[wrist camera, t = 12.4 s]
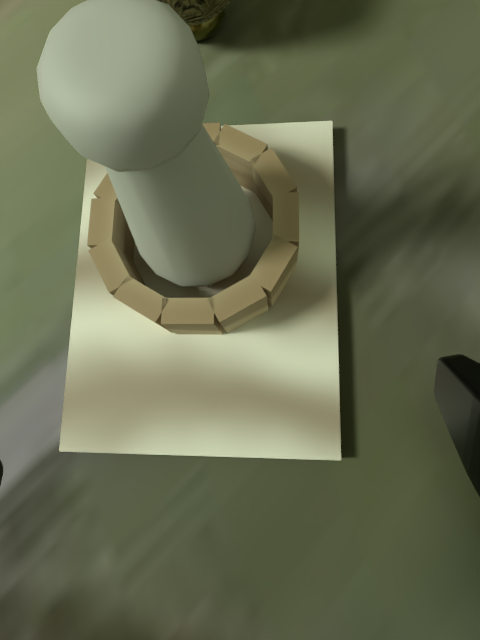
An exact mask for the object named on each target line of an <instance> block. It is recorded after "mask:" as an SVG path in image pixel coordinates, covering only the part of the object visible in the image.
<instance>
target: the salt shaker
mask: <svg viewBox="0 0 480 640" xmlns="http://www.w3.org/2000/svg"><path fill="white" fill-rule="evenodd" d="M37 76H38V85H39V93H40V100H41V102H42V104H43V106H44V108H45V110H46V112H47V114H48V115H49V117H50V119H51V120H52V122H53V123H54V124H55V125H56V127H57V128H58V129H59V130H60V132H61V133H62V134H63V135H64V137H65V138H66V139H67V140H68V142H69V143H70V144H71V145H72V146H73V147H74V148H75V149H76V150H77V151H78V152H79V153H80V154H81V155H82V156H83V157H85V158H87V159H90V160H92V161H94V162H96V163H99V164H101V165H103V166H105V168H106V170H107V173H108V175H109V178H110V180H111V183H112V185H113V188H114V190H115V193H116V195H117V198H118V201H119V203H120V206H121V208H122V211H123V213H124V216H125V218H126V221H127V223H128V226H129V228H130V231H131V233H132V236H133V238H134V241H135V243H136V246H137V248H138V251H139V253H140V255H141V256H142V258H143V259H144V260H145V261H146V263H147V264H148V265H149V266H150V267H151V269H152V270H153V271H154V272H155V274H157V275H159V276H161V277H163V278H165V279H167V280H169V281H171V282H173V283H175V284H177V285H179V286H181V287H197V286H210V285H212V284H214V283H217V282H219V281H221V280H223V279H225V278H227V277H230V276H232V275H233V274H234V273H235V272H236V270H237V269H238V268H239V267H240V265H241V264H242V263H243V262H244V260H245V259H246V258H247V257H248V255H249V254H250V250H251V246H252V242H253V238H254V234H255V229H256V223H255V219H254V215H253V211H252V207H251V203H250V200H249V199H248V197H247V195H246V194H245V192H244V191H243V189H242V187H241V186H240V184H239V183H238V181H237V179H236V178H235V176H234V174H233V173H232V171H231V170H230V168H229V166H228V165H227V163H226V161H225V160H224V158H223V157H222V155H221V153H220V152H219V150H218V148H217V147H216V145H215V144H214V142H213V140H212V139H211V137H210V136H209V134H208V132H207V131H206V129H205V127H204V126H203V124H202V121H203V118H204V115H205V111H206V108H207V104H208V100H209V89H208V83H207V77H206V73H205V69H204V65H203V61H202V57H201V53H200V49H199V46H198V44H197V42H196V40H195V37H194V35H193V33H192V31H191V29H190V27H189V26H188V25H187V24H186V23H185V21H184V20H183V19H182V18H181V17H180V16H179V15H178V14H177V13H176V12H175V11H174V10H173V9H172V8H171V6H170V5H169V4H166V3H163V2H160V1H157V0H87V1H85V2H83V3H81V4H79V5H77V6H75V7H73V8H71V9H70V10H69V12H68V13H67V14H66V15H65V16H64V17H63V18H62V19H61V20H60V21H59V22H58V23H57V24H56V25H55V26H54V27H53V28H52V29H51V31H50V33H49V36H48V38H47V41H46V43H45V46H44V49H43V52H42V55H41V58H40V61H39V64H38V66H37Z"/></svg>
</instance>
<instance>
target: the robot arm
mask: <svg viewBox="0 0 480 640" xmlns="http://www.w3.org/2000/svg"><path fill="white" fill-rule="evenodd" d="M434 395H435V399H436V402H437V405H438V407H439V409H440V412H441V414H442V416H443V419H444V421H445V423H446V426H447V428H448V430H449V433H450V435H451V437H452V440H453V442H454V445H455V447H456V449H457V452H458V454H459V456H460V459H461V461H462V463H463V466H464V468H465V470H466V472H467V474H468V476H469V478H470V480H471V482H472V484H473V486H474V488H475V489H476V491H477V493H478V495H479V497H480V363H478V362H476V361H474V360H472V359H470V358H468V357H466V356H464V355H461V354H457V355H451V356H445V357H441V358H439V359H438V361H437V364H436V374H435V385H434ZM2 476H3V465H2V462H1V460H0V485H1V480H2Z"/></svg>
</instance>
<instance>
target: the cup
mask: <svg viewBox="0 0 480 640" xmlns="http://www.w3.org/2000/svg"><path fill="white" fill-rule="evenodd" d="M157 1H160V2H163V3H166V4H169V5H170V6H171V8H172V9H173V10H174V11H175V12H176V13H177V14H178V15H179V16H180V17H181V18H182V19H183V20H184V21H185V23H186V24H187V25H188V26H189V27H190V29H191V31H192V33H193V35H194V37H195V40H196V41H200V40H204V39H207V38H209V37H210V36H212V35H213V34H215V33H216V32H217V31H218V29H219V28H220V26H221V24H222V22H223V19H224V15H225V9H226V6H227V5H228V4H229V3H230V1H231V0H157Z"/></svg>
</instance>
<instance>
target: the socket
mask: <svg viewBox="0 0 480 640" xmlns="http://www.w3.org/2000/svg"><path fill="white" fill-rule="evenodd" d="M203 126H204V127H205V129H206V131H207V132H208V134H209V136H210V137H211V139H212V140H213V142H214V144H215V145H216V147H217V148H218V150H219V152H220V153H221V155H222V157H223V158H224V160H225V161H226V163H227V165H228V166H229V168H230V170H231V171H232V173H233V174H234V176H235V178H236V179H237V181H238V183H239V184H240V186H241V187H242V189H243V191H244V192H245V194H246V195H247V197H248V199H249V200H250V203H251V207H252V211H253V215H254V219H255V223H256V229H255V234H254V238H253V242H252V246H251V250H250V254H249V255H248V257H247V258H246V259H245V260H244V262H243V263H242V264H241V265H240V267H239V268H238V269H237V270H236V272H235V273H234V274H233V275H232V276H230V277H227V278H225V279H223V280H221V281H219V282H217V283H214V284H212V285H210V286H197V287H181V286H179V285H177V284H175V283H173V282H171V281H169V280H167V279H165V278H163V277H161V276H159V275H157V274H155V272H154V271H153V270H152V269H151V267H150V266H149V265H148V264H147V263H146V261H145V260H144V259H143V258H142V256H141V255H140V253H139V251H138V248H137V246H136V243H135V241H134V238H133V236H132V233H131V231H130V228H129V226H128V223H127V221H126V218H125V216H124V213H123V211H122V208H121V206H120V203H119V201H118V198H117V195H116V193H115V190H114V188H113V185H112V183H111V180H110V178H109V175H108V173H107V170H106V168H105V166H103V165H101V164H99V163H96V162H94V161H92V160H90V159H87V166H86V177H85V187H84V198H83V208H82V218H81V229H80V239H79V249H78V260H77V270H76V280H75V291H74V301H73V312H72V322H71V332H70V343H69V353H68V363H67V374H66V384H65V395H64V405H63V415H62V426H61V436H60V446H59V451H62V452H93V453H125V454H156V455H187V456H219V457H250V458H281V459H312V460H341V432H340V394H339V356H338V318H337V280H336V242H335V205H334V167H333V129H332V121H317V122H296V123H275V124H254V125H232V126H229V125H227V124H225V125H224V126H220V123H204V124H203Z"/></svg>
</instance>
